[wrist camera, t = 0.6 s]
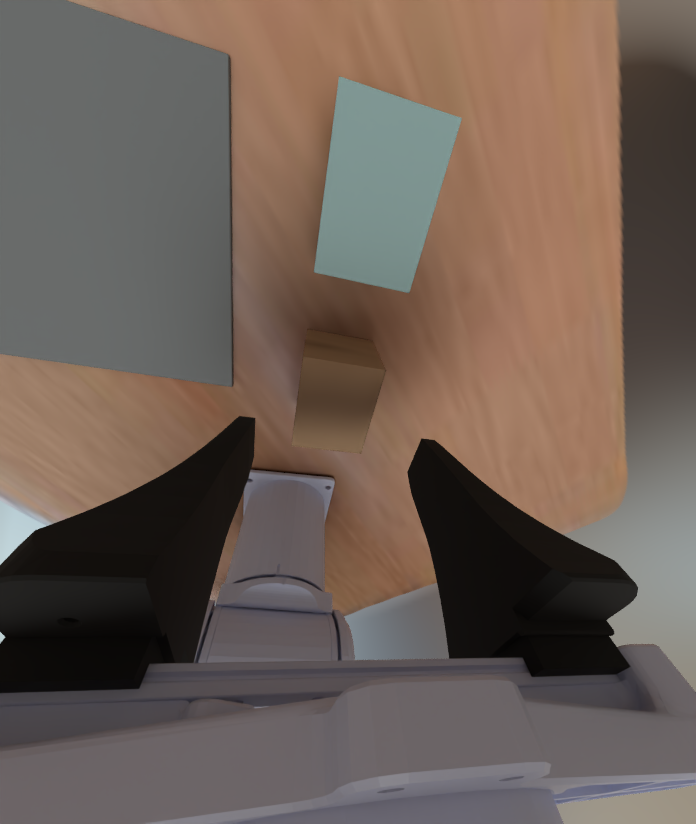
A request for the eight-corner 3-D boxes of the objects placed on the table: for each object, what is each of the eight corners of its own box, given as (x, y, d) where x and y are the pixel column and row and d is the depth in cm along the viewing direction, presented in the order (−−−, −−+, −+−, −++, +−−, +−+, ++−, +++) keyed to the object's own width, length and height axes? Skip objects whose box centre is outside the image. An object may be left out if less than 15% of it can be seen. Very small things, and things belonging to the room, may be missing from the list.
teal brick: (388, 278, 17) (409, 293, 13) (316, 262, 17) (313, 272, 12) (421, 151, 14) (461, 118, 10) (334, 123, 14) (339, 76, 9)
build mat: (232, 384, 20) (231, 387, 20) (-33, 346, 18) (-40, 348, 17) (230, 58, 12) (227, 52, 12) (-268, -107, 9) (-292, -120, 9)
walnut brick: (354, 412, 23) (361, 453, 18) (297, 404, 22) (291, 445, 18) (372, 340, 19) (385, 370, 15) (307, 328, 19) (302, 356, 15)
